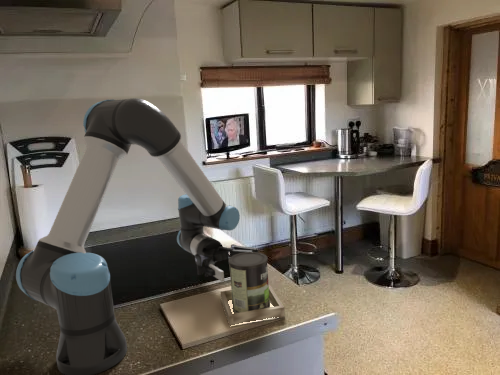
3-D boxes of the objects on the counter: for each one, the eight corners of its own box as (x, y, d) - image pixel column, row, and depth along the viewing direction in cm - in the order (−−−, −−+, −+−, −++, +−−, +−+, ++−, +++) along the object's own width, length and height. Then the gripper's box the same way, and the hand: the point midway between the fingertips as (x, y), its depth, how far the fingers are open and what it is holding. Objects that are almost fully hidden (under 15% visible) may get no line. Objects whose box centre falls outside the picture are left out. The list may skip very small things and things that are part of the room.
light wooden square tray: (229, 327, 106) (229, 316, 105) (221, 301, 120) (220, 291, 119) (284, 317, 109) (284, 307, 108) (270, 293, 122) (269, 283, 122)
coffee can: (272, 299, 118) (270, 251, 115) (266, 318, 108) (264, 266, 105) (237, 297, 120) (233, 251, 117) (228, 316, 110) (224, 265, 107)
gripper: (241, 250, 139) (281, 269, 122) (171, 271, 126) (204, 296, 109) (239, 228, 138) (279, 245, 120) (168, 247, 124) (202, 268, 107)
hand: (244, 269), depth 114 cm, fingers open, 13 cm apart
